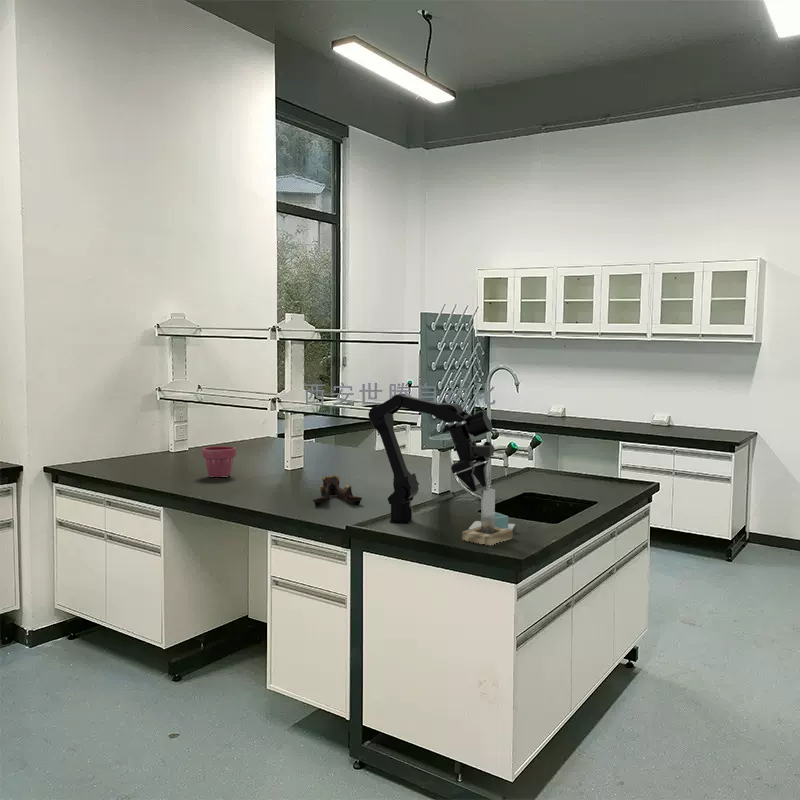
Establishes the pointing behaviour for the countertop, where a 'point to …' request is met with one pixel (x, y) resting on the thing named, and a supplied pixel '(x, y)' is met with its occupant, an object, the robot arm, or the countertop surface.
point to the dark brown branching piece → (335, 491)
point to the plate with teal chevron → (497, 522)
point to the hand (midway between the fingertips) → (479, 488)
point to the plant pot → (219, 460)
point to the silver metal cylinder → (488, 511)
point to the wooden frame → (487, 536)
